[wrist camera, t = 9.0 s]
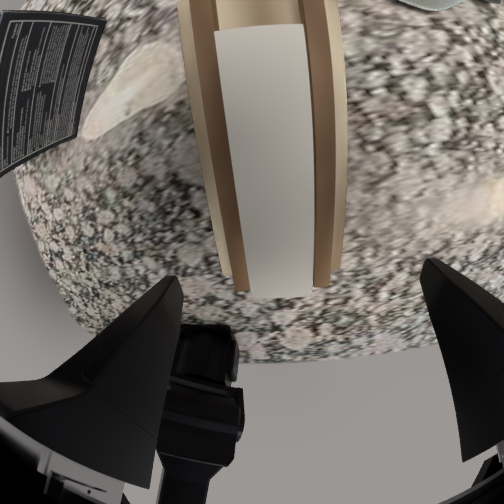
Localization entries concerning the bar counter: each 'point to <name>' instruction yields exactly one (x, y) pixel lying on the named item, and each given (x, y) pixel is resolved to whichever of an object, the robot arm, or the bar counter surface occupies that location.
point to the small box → (42, 80)
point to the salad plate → (437, 4)
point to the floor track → (323, 120)
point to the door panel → (271, 153)
